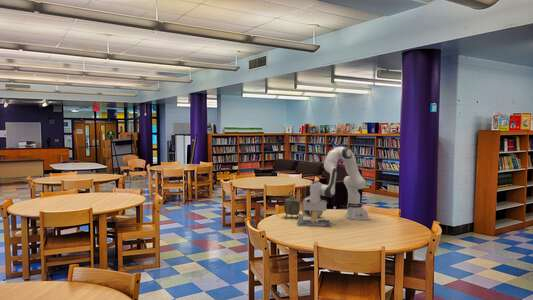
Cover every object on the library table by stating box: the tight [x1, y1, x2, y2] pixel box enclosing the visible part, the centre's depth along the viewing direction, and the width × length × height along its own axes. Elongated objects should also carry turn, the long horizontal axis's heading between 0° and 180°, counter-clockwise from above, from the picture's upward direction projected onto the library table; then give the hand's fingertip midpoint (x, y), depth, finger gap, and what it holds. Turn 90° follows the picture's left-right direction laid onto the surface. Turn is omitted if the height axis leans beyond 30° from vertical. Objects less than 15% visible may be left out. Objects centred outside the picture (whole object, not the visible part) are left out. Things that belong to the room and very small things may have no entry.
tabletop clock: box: [283, 190, 301, 219], centre depth 359 cm, size 14×9×25 cm, turn 84°
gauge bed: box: [297, 213, 332, 228], centre depth 338 cm, size 28×16×7 cm, turn 86°
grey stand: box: [296, 211, 319, 222], centre depth 336 cm, size 18×11×10 cm, turn 86°
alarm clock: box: [300, 195, 324, 218], centre depth 368 cm, size 21×8×20 cm, turn 43°
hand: (314, 215), depth 338 cm, fingers closed on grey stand, 4 cm apart
